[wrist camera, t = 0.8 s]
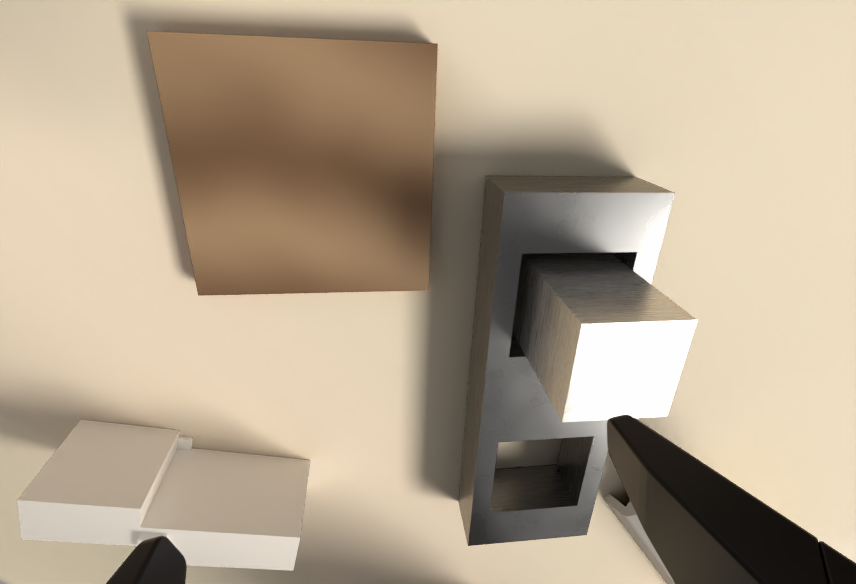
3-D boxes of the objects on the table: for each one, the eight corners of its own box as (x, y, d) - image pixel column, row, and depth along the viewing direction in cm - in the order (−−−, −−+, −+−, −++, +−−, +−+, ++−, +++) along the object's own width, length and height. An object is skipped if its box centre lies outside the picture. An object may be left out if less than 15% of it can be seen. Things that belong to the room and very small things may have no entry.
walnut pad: (425, 281, 23) (428, 290, 22) (205, 285, 21) (198, 295, 20) (433, 44, 18) (437, 43, 17) (158, 32, 17) (146, 31, 16)
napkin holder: (367, 463, 28) (369, 552, 23) (227, 557, 30) (199, 660, 25) (154, 284, 22) (90, 353, 16) (-6, 419, 24) (-108, 517, 18)
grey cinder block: (566, 493, 30) (586, 535, 28) (458, 501, 29) (468, 545, 27) (635, 177, 22) (674, 192, 19) (486, 175, 21) (504, 192, 18)
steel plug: (578, 313, 24) (666, 416, 17) (503, 315, 24) (562, 422, 17) (592, 239, 23) (697, 320, 16) (511, 240, 22) (581, 324, 15)
